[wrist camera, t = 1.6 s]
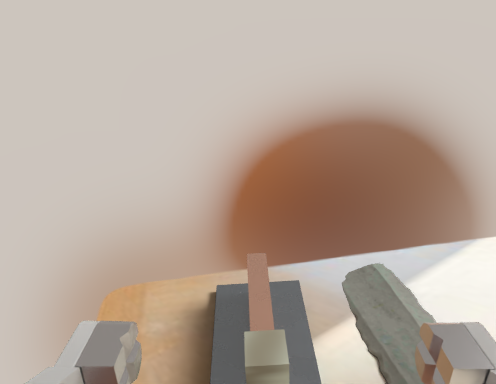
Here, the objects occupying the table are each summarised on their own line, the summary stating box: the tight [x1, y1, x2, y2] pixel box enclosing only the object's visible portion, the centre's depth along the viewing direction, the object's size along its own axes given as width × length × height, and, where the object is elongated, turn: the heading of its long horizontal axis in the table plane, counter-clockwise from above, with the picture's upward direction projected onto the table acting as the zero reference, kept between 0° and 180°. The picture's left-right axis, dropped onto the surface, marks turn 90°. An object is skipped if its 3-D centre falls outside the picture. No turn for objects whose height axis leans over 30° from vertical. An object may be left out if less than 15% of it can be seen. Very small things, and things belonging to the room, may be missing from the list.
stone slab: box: [342, 264, 436, 384], centre depth 49 cm, size 22×3×10 cm
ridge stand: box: [210, 253, 321, 384], centre depth 46 cm, size 12×18×8 cm, turn 2°
